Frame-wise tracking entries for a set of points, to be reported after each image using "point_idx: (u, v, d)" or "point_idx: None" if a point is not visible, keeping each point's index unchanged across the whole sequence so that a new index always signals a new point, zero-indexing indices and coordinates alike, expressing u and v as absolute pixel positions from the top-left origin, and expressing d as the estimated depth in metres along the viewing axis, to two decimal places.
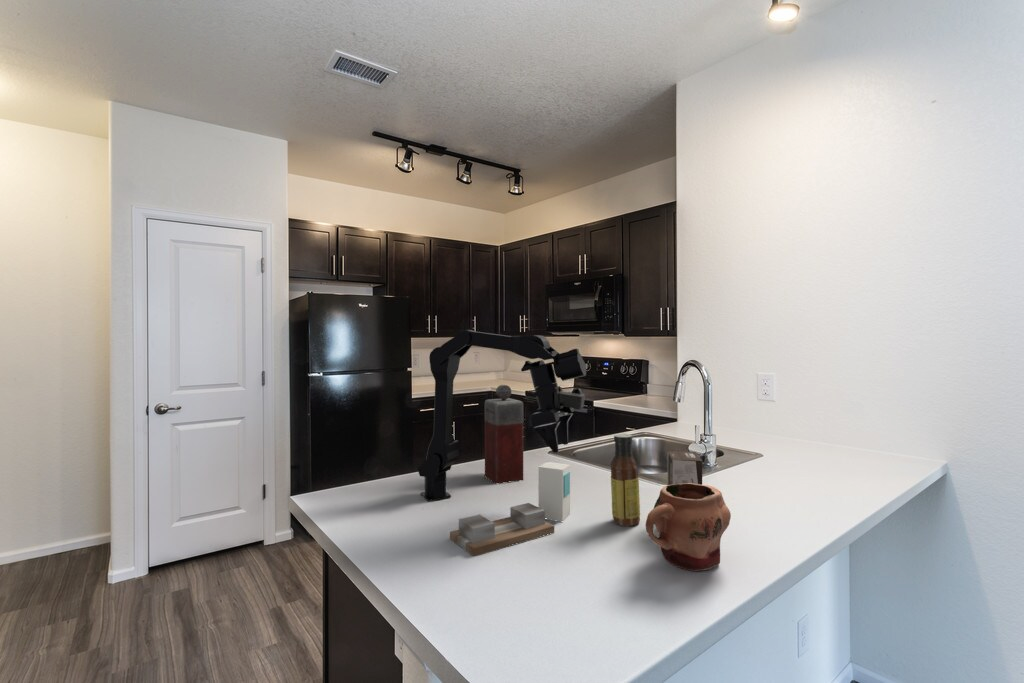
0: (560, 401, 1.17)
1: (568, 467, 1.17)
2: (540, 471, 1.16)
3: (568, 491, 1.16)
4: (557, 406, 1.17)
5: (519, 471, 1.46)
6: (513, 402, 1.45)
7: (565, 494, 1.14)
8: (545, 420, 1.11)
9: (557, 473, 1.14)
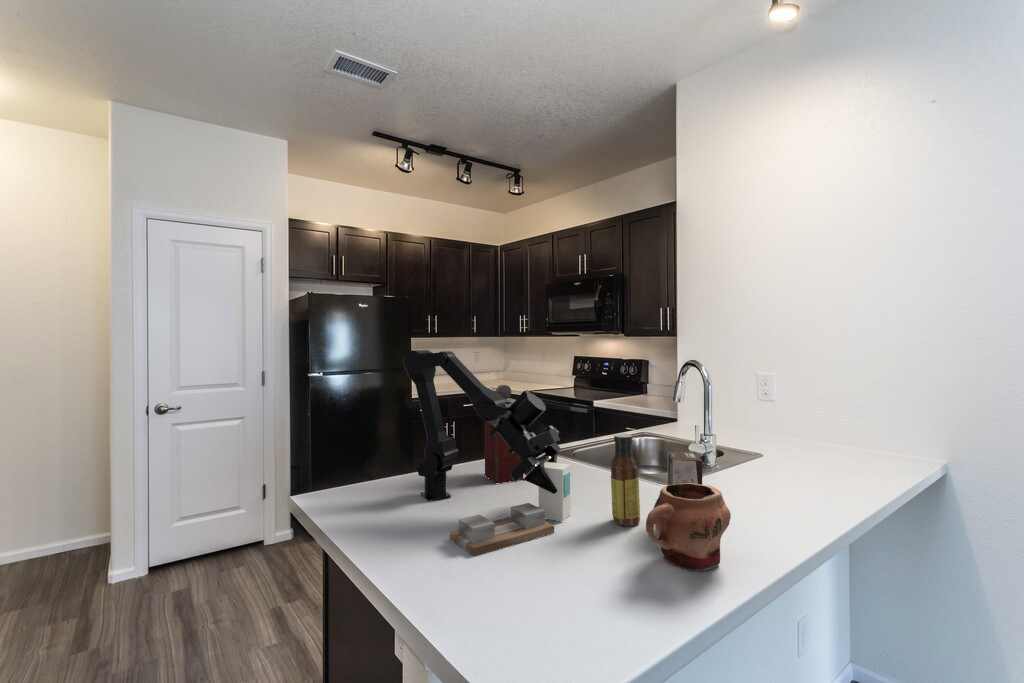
0: (533, 445, 1.16)
1: (568, 467, 1.17)
2: None
3: (568, 491, 1.16)
4: (533, 451, 1.16)
5: None
6: (513, 402, 1.45)
7: (565, 494, 1.14)
8: (523, 469, 1.10)
9: (557, 473, 1.14)
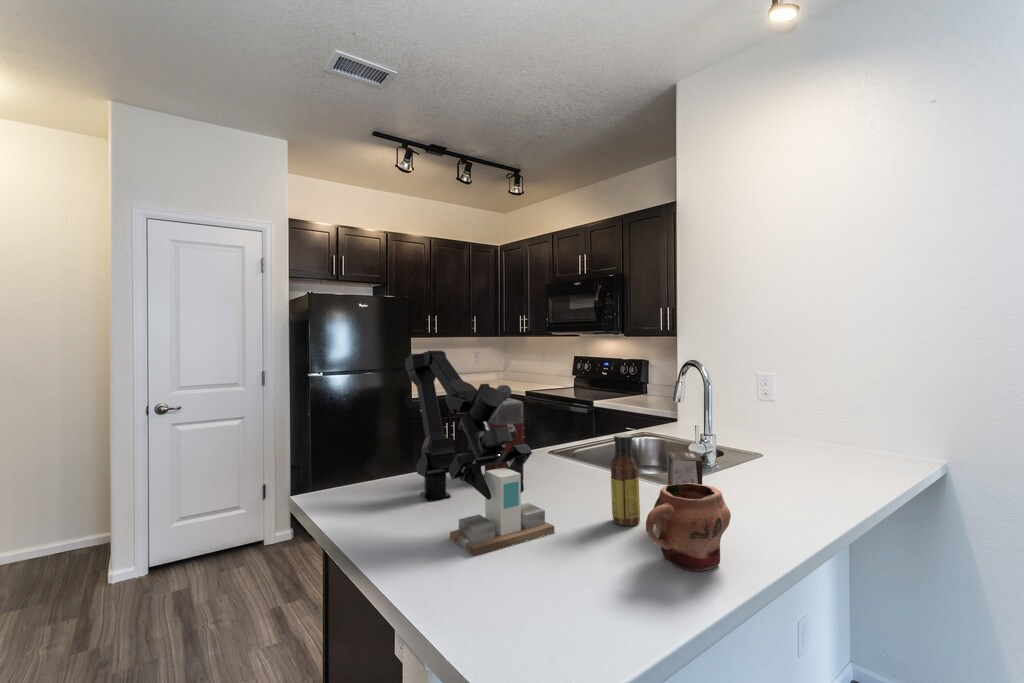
0: (481, 443, 1.07)
1: (516, 476, 1.04)
2: (486, 476, 1.06)
3: (514, 503, 1.03)
4: (481, 449, 1.07)
5: None
6: (513, 402, 1.45)
7: (506, 505, 1.02)
8: (455, 466, 1.03)
9: (497, 481, 1.02)
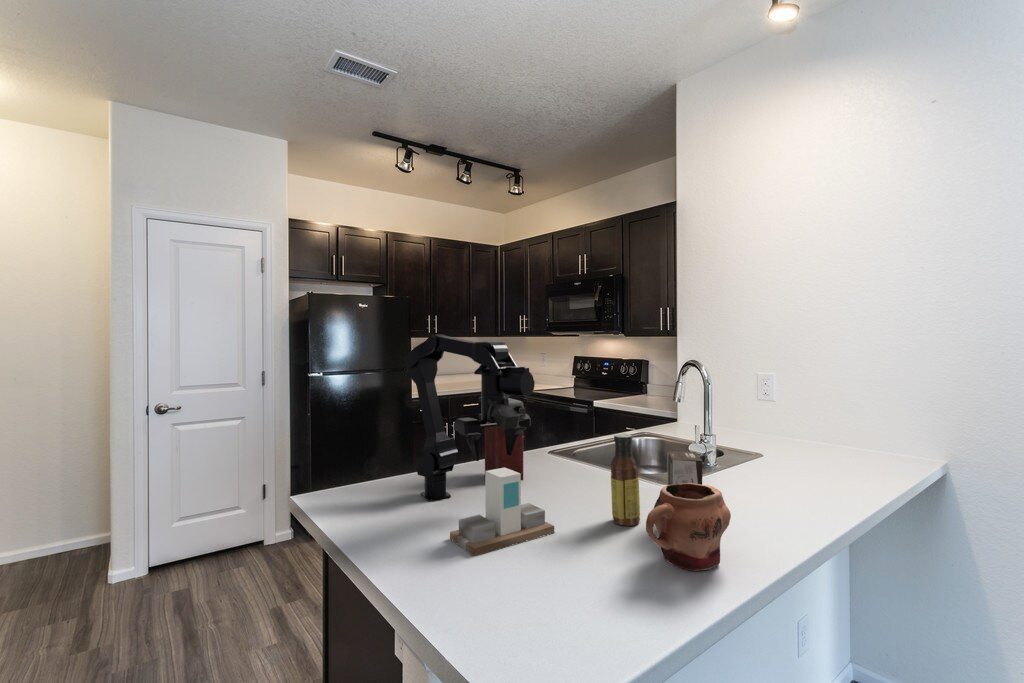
0: (491, 414, 1.15)
1: (516, 476, 1.04)
2: (486, 476, 1.06)
3: (514, 503, 1.03)
4: (488, 418, 1.16)
5: (519, 471, 1.46)
6: (513, 402, 1.45)
7: (506, 505, 1.02)
8: (461, 429, 1.14)
9: (497, 481, 1.02)
